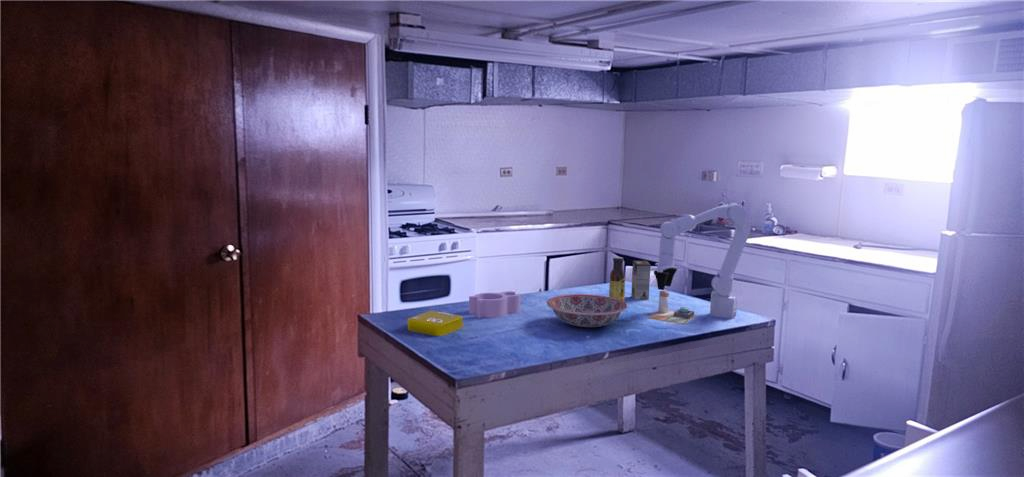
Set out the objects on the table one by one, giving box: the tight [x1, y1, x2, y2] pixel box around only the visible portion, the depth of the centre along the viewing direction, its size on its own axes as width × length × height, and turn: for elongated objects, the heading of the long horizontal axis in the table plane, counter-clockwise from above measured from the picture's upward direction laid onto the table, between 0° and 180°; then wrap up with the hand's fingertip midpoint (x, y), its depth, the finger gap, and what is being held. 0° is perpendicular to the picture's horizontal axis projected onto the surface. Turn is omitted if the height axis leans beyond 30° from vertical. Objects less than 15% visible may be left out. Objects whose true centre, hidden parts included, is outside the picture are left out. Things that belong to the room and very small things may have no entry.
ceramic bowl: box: [546, 293, 628, 328], centre depth 240 cm, size 29×29×8 cm
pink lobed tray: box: [468, 290, 522, 319], centre depth 255 cm, size 20×12×7 cm, turn 122°
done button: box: [679, 306, 690, 314], centre depth 251 cm, size 3×3×2 cm
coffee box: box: [630, 260, 652, 301], centre depth 280 cm, size 9×6×16 cm
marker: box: [657, 290, 670, 313], centre depth 256 cm, size 4×4×8 cm
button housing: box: [674, 308, 695, 319], centre depth 251 cm, size 6×6×2 cm
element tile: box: [407, 310, 464, 337], centre depth 233 cm, size 15×15×5 cm
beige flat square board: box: [645, 309, 698, 326], centre depth 250 cm, size 15×16×1 cm
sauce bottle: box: [608, 256, 626, 302], centre depth 268 cm, size 6×6×20 cm
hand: (664, 287), depth 255 cm, fingers open, 7 cm apart
